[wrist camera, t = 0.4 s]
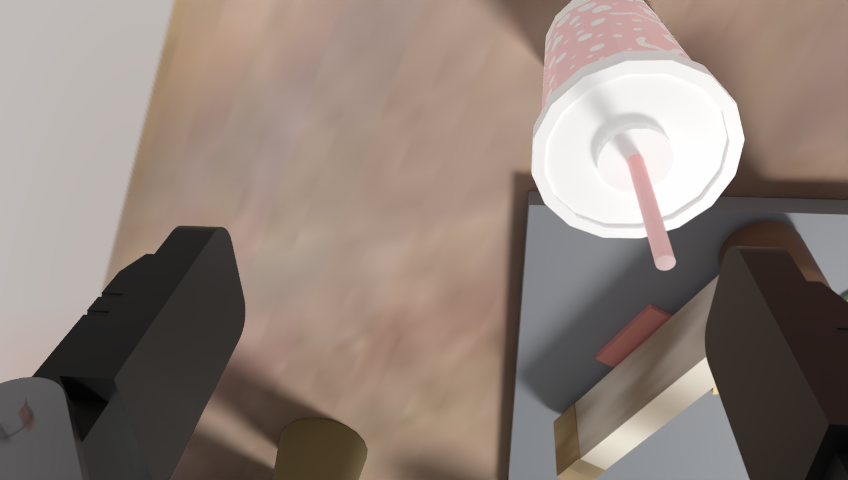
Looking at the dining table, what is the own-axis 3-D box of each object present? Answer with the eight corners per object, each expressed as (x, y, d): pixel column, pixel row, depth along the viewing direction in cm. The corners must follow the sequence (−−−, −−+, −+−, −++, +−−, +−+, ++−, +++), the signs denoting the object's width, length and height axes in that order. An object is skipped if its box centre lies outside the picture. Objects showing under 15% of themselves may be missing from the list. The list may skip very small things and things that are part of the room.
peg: (759, 192, 28) (826, 314, 22) (843, 240, 29) (929, 370, 23) (530, 408, 38) (534, 534, 32) (599, 439, 39) (615, 567, 33)
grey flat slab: (528, 190, 31) (529, 208, 30) (962, 203, 30) (981, 222, 28) (507, 485, 46) (506, 506, 45) (797, 507, 44) (805, 528, 43)
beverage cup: (706, 65, 27) (843, 294, 16) (572, 139, 30) (609, 381, 19) (637, -68, 24) (744, 97, 13) (496, 27, 27) (486, 231, 16)
